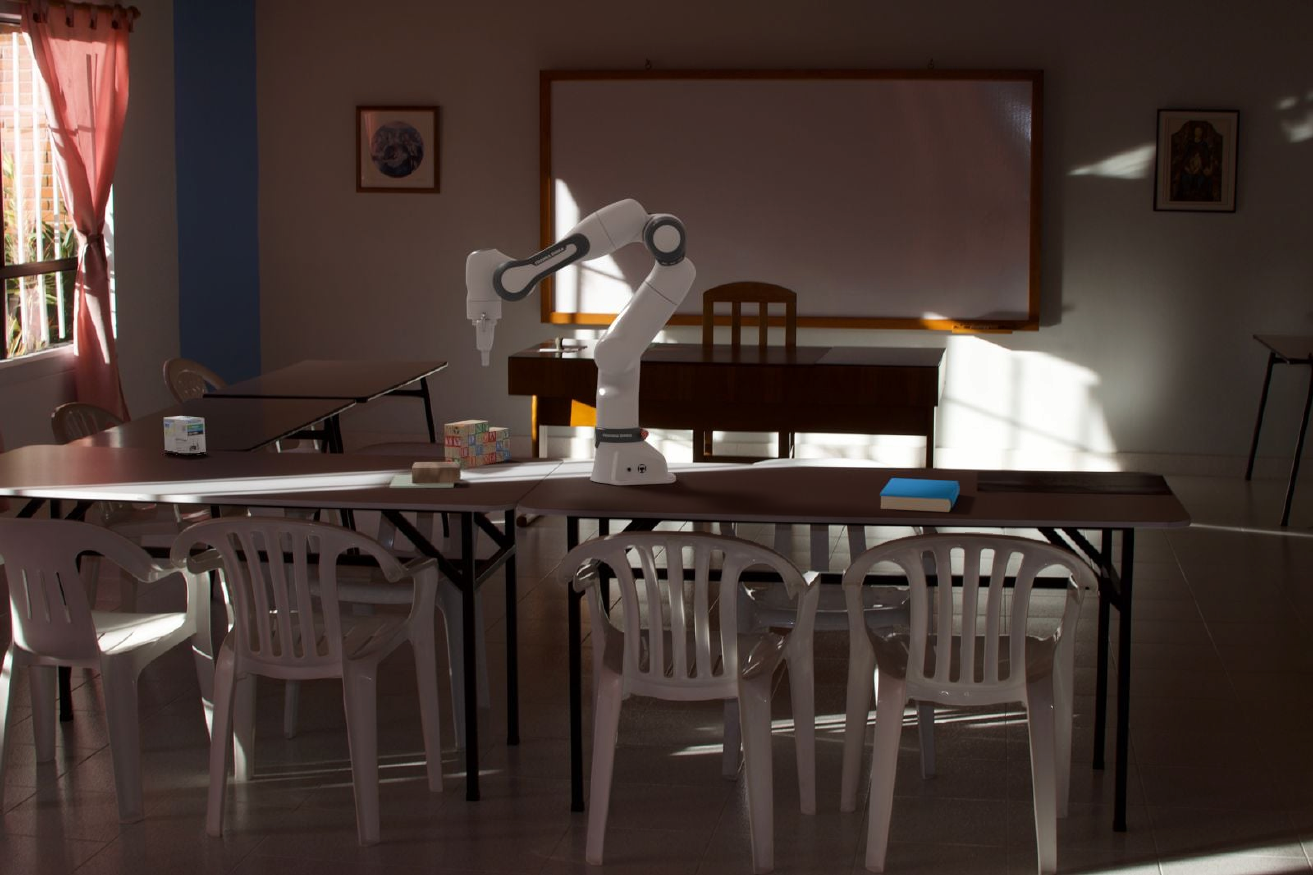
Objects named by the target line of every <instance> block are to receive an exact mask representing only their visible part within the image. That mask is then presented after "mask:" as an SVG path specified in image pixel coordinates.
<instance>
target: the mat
mask: <svg viewBox="0 0 1313 875" xmlns="http://www.w3.org/2000/svg"><path fill="white" fill-rule="evenodd" d="M454 485H455V483H412V474H395V475H394V477H393V478H392V481H391V482H390V485H389V489H427V488H428V489H443V488H444V489H446V488H449V489H450V488H451V489H452V488H454Z"/></svg>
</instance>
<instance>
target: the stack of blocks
mask: <svg viewBox="0 0 1313 875" xmlns="http://www.w3.org/2000/svg"><path fill="white" fill-rule="evenodd" d="M443 428H444V430H443V431H444V435H443V437H444V438H443V440H444V462H461V468H463V469H468V468H467V467H469V468H474V467H479V466H483V465H488V464H489V465H490V464H494V463H498V462H500V463H501V462H504V461H509V460H511V450H510V449H511V442H510V428H508V427H498V426H497V427H495V426H492V427H491V426H490V421H489V420H477V419H469V420H468V419H467V420H461V421H458V422H457V421H455V422H452V423H445V424H444V425H443ZM495 456H496V457H495Z"/></svg>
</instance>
